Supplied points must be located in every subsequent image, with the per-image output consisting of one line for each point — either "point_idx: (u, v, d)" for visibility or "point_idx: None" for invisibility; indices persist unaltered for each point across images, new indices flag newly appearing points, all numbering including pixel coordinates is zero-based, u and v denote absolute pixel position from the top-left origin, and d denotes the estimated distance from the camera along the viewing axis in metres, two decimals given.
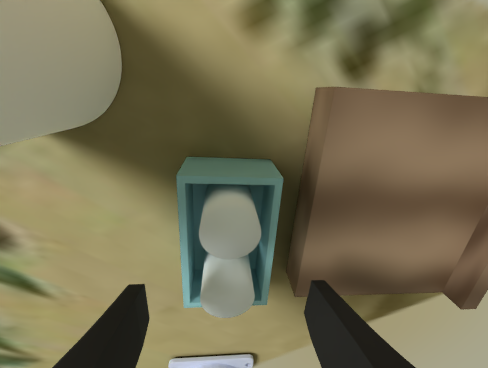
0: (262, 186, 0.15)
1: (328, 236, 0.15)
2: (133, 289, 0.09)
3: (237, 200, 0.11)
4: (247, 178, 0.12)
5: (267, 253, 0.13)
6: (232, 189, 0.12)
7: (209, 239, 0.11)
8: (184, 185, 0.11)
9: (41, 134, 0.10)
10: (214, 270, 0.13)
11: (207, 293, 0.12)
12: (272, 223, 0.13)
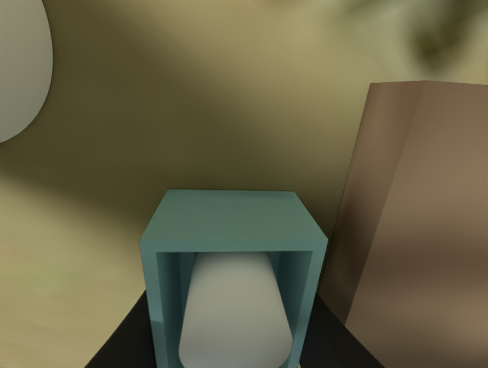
0: None
1: (382, 308, 0.10)
2: None
3: (249, 286, 0.06)
4: (265, 240, 0.07)
5: (292, 346, 0.09)
6: (239, 254, 0.07)
7: (198, 359, 0.06)
8: (155, 255, 0.06)
9: None
10: None
11: None
12: (304, 305, 0.08)
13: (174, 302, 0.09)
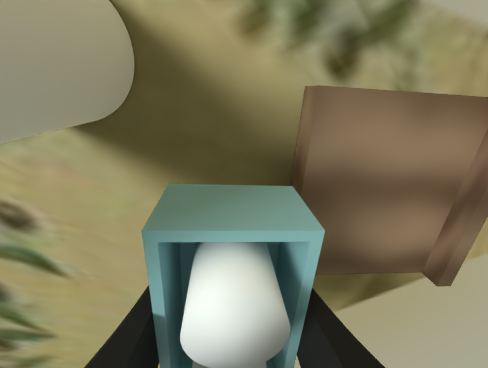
0: None
1: None
2: None
3: (248, 274, 0.06)
4: (264, 231, 0.07)
5: (290, 336, 0.09)
6: (239, 245, 0.07)
7: (199, 345, 0.06)
8: (157, 245, 0.07)
9: (69, 125, 0.11)
10: None
11: None
12: (302, 296, 0.08)
13: (175, 294, 0.09)
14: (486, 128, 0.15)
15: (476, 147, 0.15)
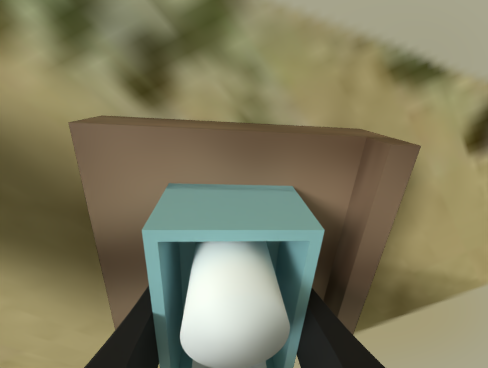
0: None
1: (137, 296, 0.12)
2: None
3: (248, 274, 0.06)
4: (264, 231, 0.07)
5: (290, 335, 0.09)
6: (238, 245, 0.07)
7: (199, 344, 0.06)
8: (157, 244, 0.07)
9: None
10: None
11: None
12: (301, 295, 0.08)
13: (175, 294, 0.09)
14: (354, 177, 0.10)
15: (345, 202, 0.11)
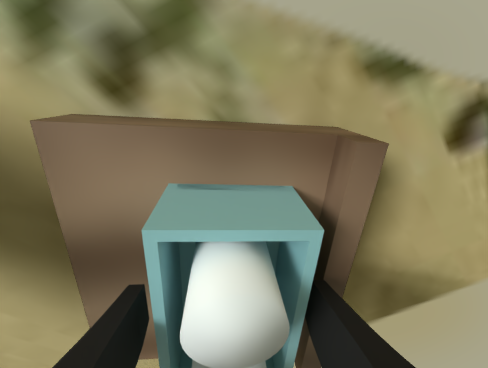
0: None
1: (111, 297, 0.12)
2: (133, 290, 0.09)
3: (248, 274, 0.06)
4: (263, 231, 0.07)
5: (290, 336, 0.09)
6: (238, 245, 0.07)
7: (198, 344, 0.06)
8: (156, 244, 0.07)
9: None
10: None
11: None
12: (301, 295, 0.08)
13: (175, 294, 0.09)
14: (327, 176, 0.10)
15: (319, 201, 0.11)
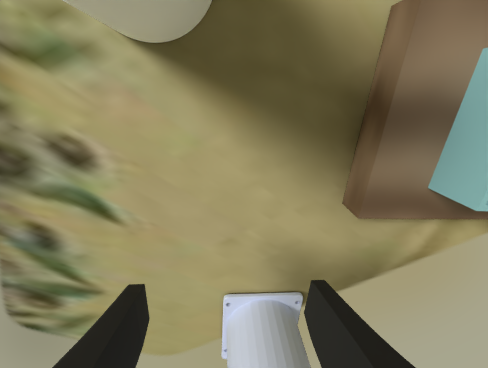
0: None
1: (397, 152, 0.15)
2: (133, 289, 0.09)
3: None
4: None
5: None
6: None
7: None
8: None
9: (166, 20, 0.11)
10: None
11: None
12: None
13: None
14: None
15: None
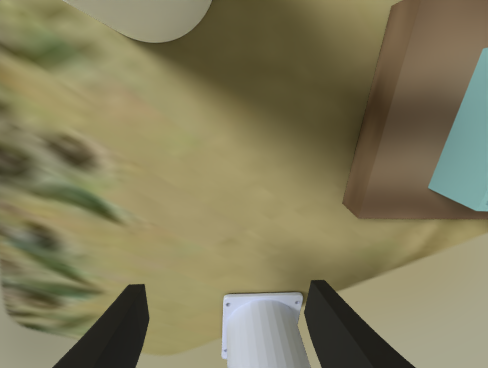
0: None
1: (397, 152, 0.15)
2: (133, 289, 0.09)
3: None
4: None
5: None
6: None
7: None
8: None
9: (166, 20, 0.11)
10: None
11: None
12: None
13: None
14: None
15: None
